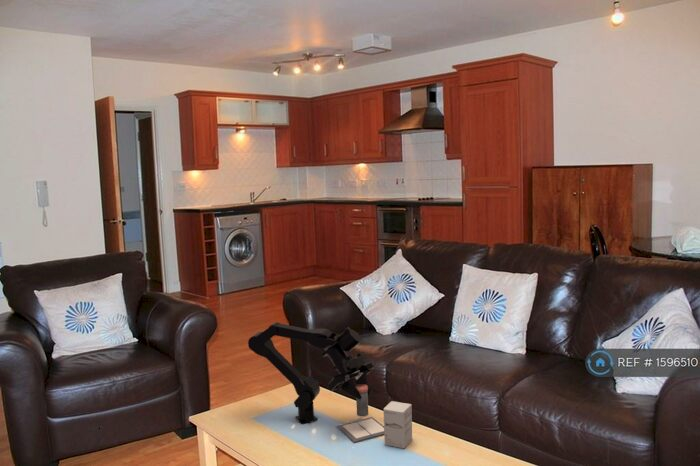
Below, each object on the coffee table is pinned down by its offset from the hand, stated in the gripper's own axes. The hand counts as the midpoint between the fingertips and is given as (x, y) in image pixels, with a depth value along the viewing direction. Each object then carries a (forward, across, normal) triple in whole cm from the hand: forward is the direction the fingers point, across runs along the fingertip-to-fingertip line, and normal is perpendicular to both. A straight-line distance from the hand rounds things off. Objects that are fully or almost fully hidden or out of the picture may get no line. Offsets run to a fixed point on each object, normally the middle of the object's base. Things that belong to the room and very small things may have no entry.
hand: (364, 396), depth 204 cm
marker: (+4, 0, +6) cm, 7 cm away
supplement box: (+19, 0, -1) cm, 19 cm away
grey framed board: (+8, 0, +10) cm, 13 cm away
